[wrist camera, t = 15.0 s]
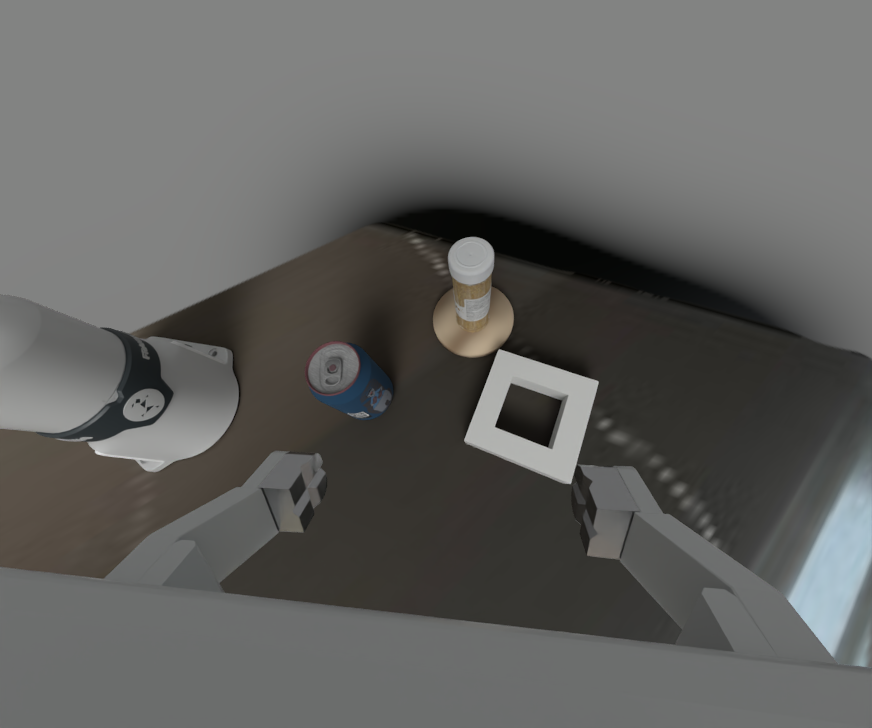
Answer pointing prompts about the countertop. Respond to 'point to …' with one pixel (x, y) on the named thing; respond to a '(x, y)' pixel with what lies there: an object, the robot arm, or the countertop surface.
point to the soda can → (348, 380)
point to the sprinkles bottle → (471, 281)
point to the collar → (568, 426)
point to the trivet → (473, 341)
